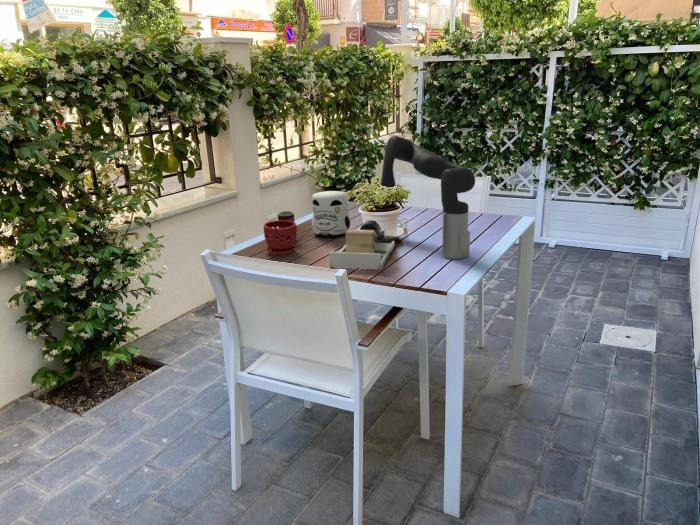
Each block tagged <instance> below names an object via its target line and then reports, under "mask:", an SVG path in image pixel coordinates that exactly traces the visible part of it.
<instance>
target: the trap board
mask: <svg viewBox="0 0 700 525" xmlns="http://www.w3.org/2000/svg"><path fill="white" fill-rule="evenodd" d="M395 242H396V241H395V240H392V241H391V242H376V243H375V253H347V252H346V243H345V244H344V245H343V247H342V248H341V249H340V250H339V251H329V252H328V254H329V268H330V267H341V268H340V269H343V268H344V267H348V268H361V269H360V270H366V269H380V270H379V271H381V270H382V269H383V267H384V265H385V264H386V262H387V260H388V259H389V256H391V255H390V254H391V253H392V251H393V250H394V249H395V248H394V247H395V246H396V245H395Z"/></svg>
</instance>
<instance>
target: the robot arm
mask: <svg viewBox="0 0 700 525" xmlns="http://www.w3.org/2000/svg"><path fill="white" fill-rule="evenodd" d="M395 159H396V160H399V161H401V162H406V163H409V164H412V165H413V168H414V169H415V170H416V171H417V172H418V173H420V174H422V176H423V175H424V176H425V177H427V178H431V179H436V180H440V192H441V194H440V197H441V201H440V202H441V204H442V250H441V251H442V257H443V258H445V259H448V260H449V259H450V260H463V259H465V258H467V257H469V256H470V251H471V250H470V246H471V245H470V244H471V242H470V240H471V231H468V230H469V204H468V203H467V202H464V201H461V200H459V197H458V194H462V193H468V192H469V191H471V190H473V188H474V187H475V185H476V178H475V174H474V173H473V171H472V170H471V169H469V168H468V167H467V166H463V165H459V164H457V163H454V162H452V161H451V160H448V159H446V158H444V157H441V156H440V155H438V154H436V153H434V152H433V151H430V150H428V149H426V148H421V147H420V146H418V145H417V144H416V143H415V142H413V141H412V140H410V139H408V138H404V137H402V136H399V135H392V136H391V137H389V139H388V140H387V143H386V144H385V150H384V156H383V163H382V164H383V165H382V172H381V179H380V183H379V184H381V185H382V186H386V187H394V186H396V179H395V174H394V162H395ZM359 230H375V243H378V242H379V241H380V242H384V239H385V238H386V236H385V235H386V233H385V230H381V227H380V225H379V224H378V223H377V222H376V221H373V220H368V221H367V220H366V221H365V222H364V223H363V224H362V225H361V227H360V228H359Z"/></svg>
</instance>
